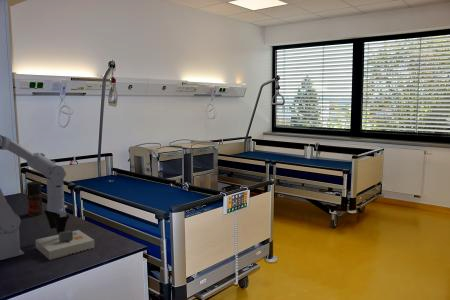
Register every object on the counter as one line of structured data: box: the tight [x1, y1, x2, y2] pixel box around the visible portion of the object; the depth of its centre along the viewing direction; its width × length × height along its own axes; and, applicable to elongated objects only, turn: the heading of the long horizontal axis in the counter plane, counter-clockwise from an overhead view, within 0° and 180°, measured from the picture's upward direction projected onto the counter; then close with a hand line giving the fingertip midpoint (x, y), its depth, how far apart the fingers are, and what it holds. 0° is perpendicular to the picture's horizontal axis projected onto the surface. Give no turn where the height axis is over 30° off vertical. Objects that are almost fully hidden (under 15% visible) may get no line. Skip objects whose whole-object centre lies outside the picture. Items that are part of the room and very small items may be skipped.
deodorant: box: [26, 181, 43, 217], centre depth 176 cm, size 6×6×15 cm
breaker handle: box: [58, 229, 73, 242], centre depth 137 cm, size 4×2×3 cm, turn 134°
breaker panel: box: [35, 229, 95, 261], centre depth 138 cm, size 16×14×3 cm
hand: (57, 230), depth 143 cm, fingers open, 7 cm apart
